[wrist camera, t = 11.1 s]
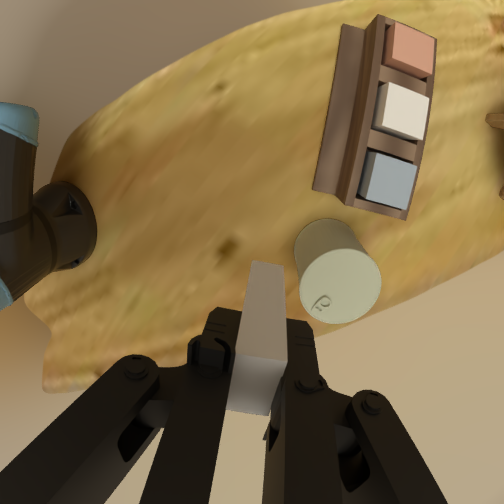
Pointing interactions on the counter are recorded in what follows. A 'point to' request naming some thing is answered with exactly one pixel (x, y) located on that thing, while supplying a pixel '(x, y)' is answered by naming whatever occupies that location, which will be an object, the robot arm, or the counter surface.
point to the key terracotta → (408, 51)
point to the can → (335, 272)
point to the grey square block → (386, 180)
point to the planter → (499, 122)
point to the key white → (400, 112)
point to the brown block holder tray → (364, 117)
